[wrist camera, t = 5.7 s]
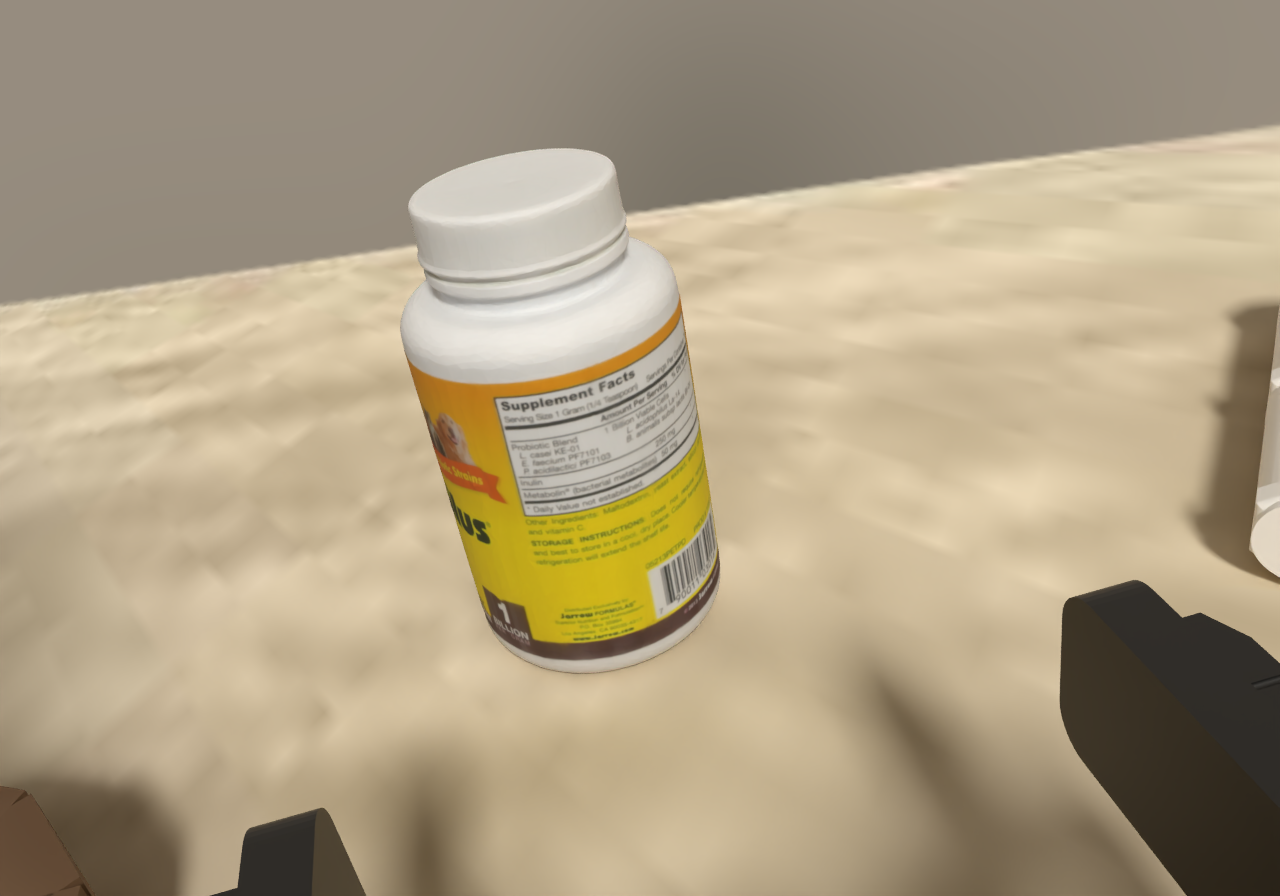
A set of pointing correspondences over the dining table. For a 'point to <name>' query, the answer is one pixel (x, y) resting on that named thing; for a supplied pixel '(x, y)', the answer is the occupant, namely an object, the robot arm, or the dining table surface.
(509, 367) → the supplement bottle
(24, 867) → the brown wooden bowl
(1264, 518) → the white brass knuckles
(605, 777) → the dining table surface
